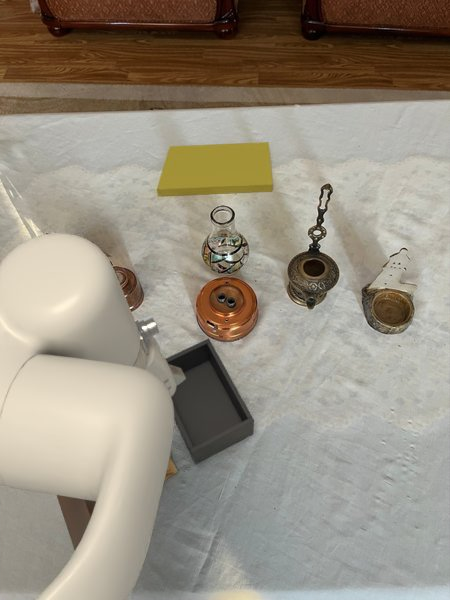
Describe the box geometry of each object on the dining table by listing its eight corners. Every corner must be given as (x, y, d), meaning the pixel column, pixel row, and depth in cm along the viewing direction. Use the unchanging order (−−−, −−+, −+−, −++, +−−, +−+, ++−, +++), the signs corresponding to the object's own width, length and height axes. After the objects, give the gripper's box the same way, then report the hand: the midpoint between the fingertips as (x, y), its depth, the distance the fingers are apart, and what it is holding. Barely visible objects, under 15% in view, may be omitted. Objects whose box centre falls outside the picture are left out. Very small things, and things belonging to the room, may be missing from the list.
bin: (253, 434, 85) (254, 420, 78) (195, 464, 83) (191, 453, 76) (211, 356, 92) (208, 338, 85) (156, 382, 90) (150, 365, 83)
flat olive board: (268, 149, 116) (160, 154, 116) (268, 142, 114) (158, 146, 114) (272, 191, 110) (158, 196, 110) (272, 184, 108) (156, 189, 108)
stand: (107, 559, 76) (74, 551, 62) (88, 508, 80) (53, 487, 65) (126, 549, 77) (98, 538, 62) (107, 498, 81) (76, 476, 66)
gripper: (169, 278, 45) (189, 361, 61) (-15, 362, 41) (58, 426, 57) (209, 349, 41) (219, 417, 57) (12, 447, 38) (81, 489, 54)
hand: (138, 421), depth 57 cm, fingers closed
